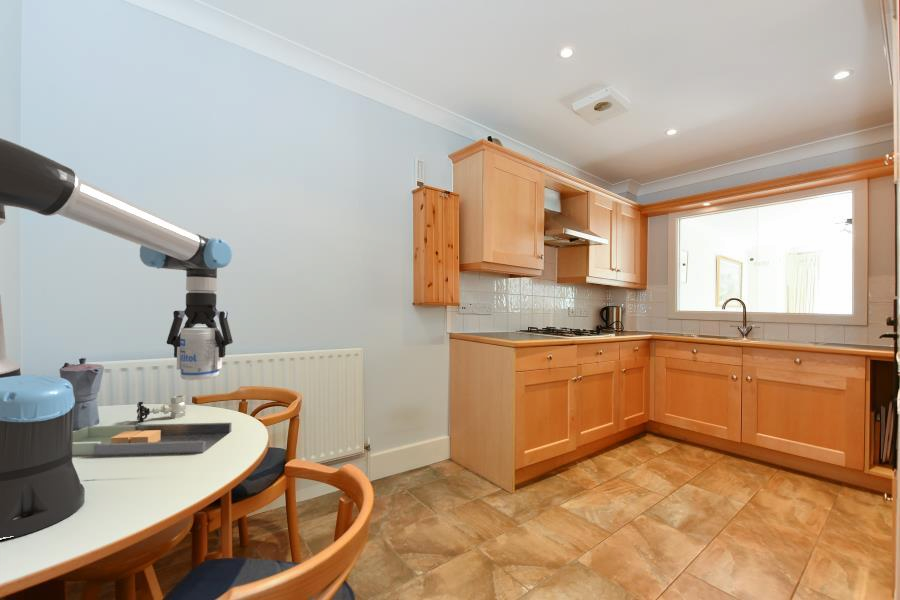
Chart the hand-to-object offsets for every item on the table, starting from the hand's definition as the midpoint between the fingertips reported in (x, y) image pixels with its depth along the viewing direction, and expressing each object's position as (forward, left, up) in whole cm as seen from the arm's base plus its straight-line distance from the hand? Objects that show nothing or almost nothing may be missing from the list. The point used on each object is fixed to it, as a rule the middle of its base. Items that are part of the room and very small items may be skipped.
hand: (199, 368), depth 111 cm
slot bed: (-12, +1, -17) cm, 21 cm away
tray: (-12, +19, -17) cm, 28 cm away
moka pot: (+4, +35, -17) cm, 39 cm away
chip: (-12, +11, -17) cm, 24 cm away
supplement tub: (+1, 0, -3) cm, 3 cm away
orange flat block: (-12, +6, -17) cm, 22 cm away
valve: (+9, +15, -18) cm, 25 cm away
